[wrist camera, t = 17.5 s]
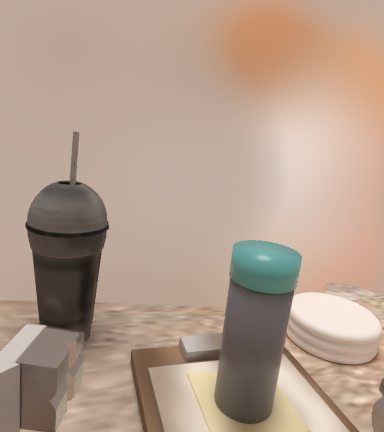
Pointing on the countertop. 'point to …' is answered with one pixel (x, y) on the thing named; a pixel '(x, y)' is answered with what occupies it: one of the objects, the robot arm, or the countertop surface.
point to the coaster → (333, 328)
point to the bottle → (255, 328)
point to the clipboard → (205, 388)
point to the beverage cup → (67, 250)
